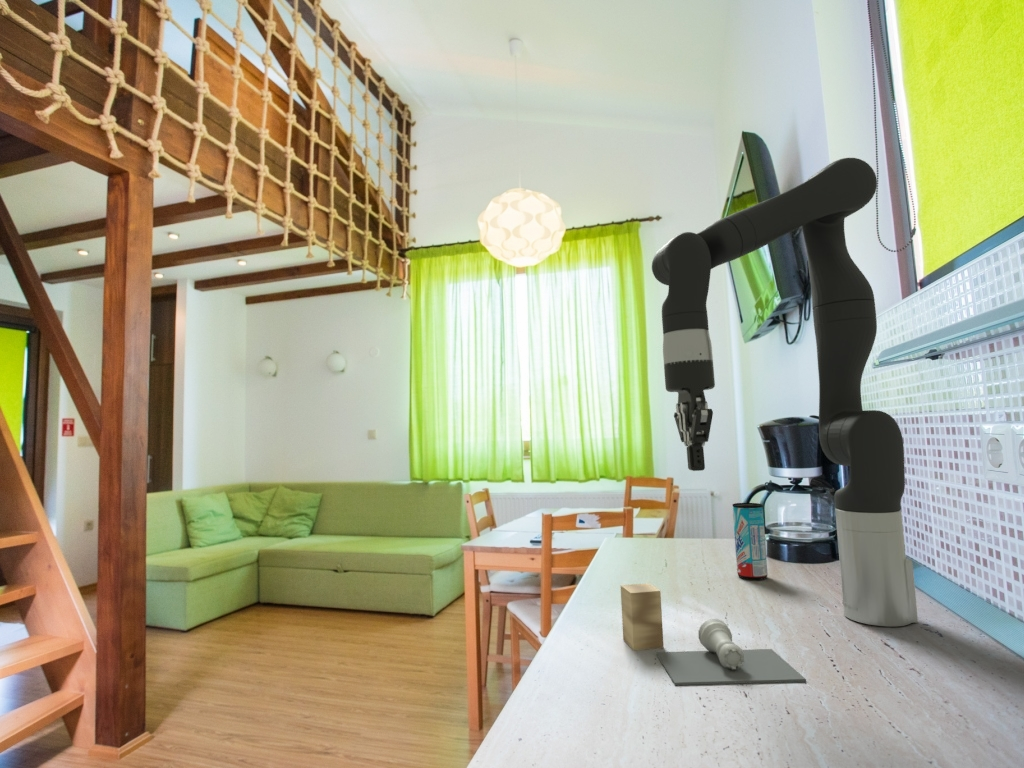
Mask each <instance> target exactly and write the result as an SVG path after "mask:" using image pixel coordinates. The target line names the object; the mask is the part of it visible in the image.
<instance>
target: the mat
mask: <svg viewBox="0 0 1024 768" xmlns="http://www.w3.org/2000/svg"><path fill="white" fill-rule="evenodd" d="M742 651H743V653H744V662H742V667H740V668H739V667H738V668H736V670H732V669H728V668H725V667H724V666H723V665H722V664H721V663H720V661H719V657H718V655H717V653H713V652H710V651H708V650H690V651H686V650H683V651H657V652H656V656H657V657H658V659H659V661H660V663H661V664H662V666H663V667H664V669H665V671H666V672H667V675H668V676H669V678H670V680H671V681H672V683H673V685H674V686H689V685H690V686H693V685H695V686H696V685H725V684H726V685H730V684H731V685H732V684H764V683H767V684H768V683H802V682H806V683H807V678H805V677H804V676H803V675H802V674H800V673H799V671H797V669H795V668H794V667H793V666H792V665H791V664H789V663H788V662H787V661H786V660H785V659H784V658H782V657H781V656H780V655H779V654H778V653H777V652H775V651H774V650H773V649H772V648H765V649H764V648H763V649H762V648H761V649H760V648H758V649H742Z"/></svg>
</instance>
